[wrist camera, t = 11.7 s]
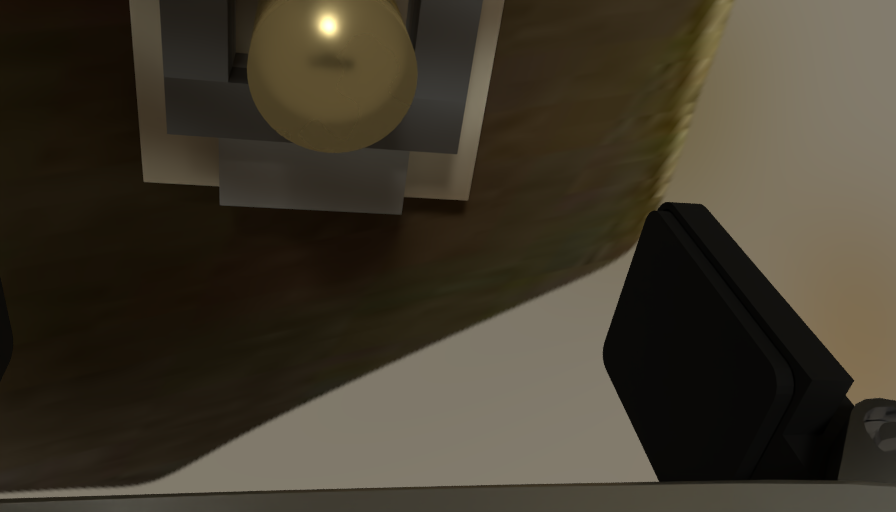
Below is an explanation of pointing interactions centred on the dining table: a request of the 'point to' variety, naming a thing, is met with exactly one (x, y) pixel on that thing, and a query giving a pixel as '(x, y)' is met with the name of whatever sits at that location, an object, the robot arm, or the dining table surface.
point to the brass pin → (331, 71)
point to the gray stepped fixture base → (281, 161)
